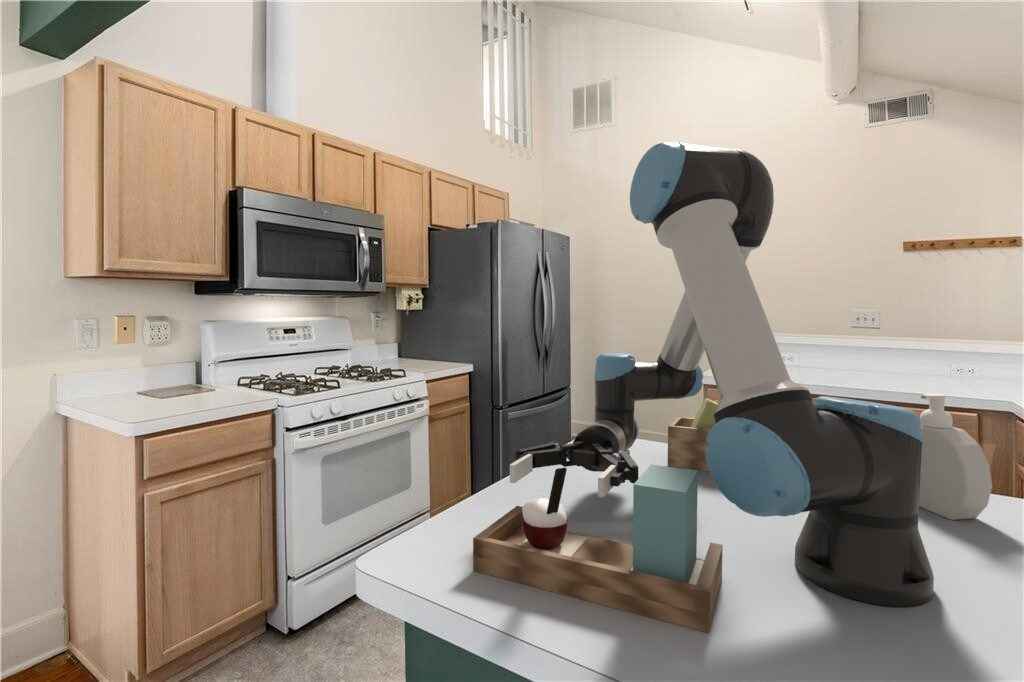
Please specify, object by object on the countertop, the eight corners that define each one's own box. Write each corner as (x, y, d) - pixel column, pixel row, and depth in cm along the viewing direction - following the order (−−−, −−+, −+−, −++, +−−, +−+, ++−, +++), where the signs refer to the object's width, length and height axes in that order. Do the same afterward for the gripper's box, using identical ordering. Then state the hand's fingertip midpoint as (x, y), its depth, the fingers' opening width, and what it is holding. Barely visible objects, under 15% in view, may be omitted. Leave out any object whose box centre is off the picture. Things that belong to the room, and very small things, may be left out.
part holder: (801, 468, 115) (802, 427, 115) (802, 483, 105) (803, 439, 105) (677, 453, 128) (677, 416, 127) (667, 466, 118) (668, 426, 117)
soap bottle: (879, 492, 100) (883, 388, 99) (904, 490, 101) (908, 387, 100) (963, 526, 85) (969, 403, 83) (991, 524, 85) (997, 402, 84)
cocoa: (522, 534, 78) (519, 453, 78) (565, 532, 78) (561, 451, 78) (525, 562, 69) (521, 470, 68) (573, 559, 69) (569, 468, 68)
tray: (721, 578, 69) (722, 544, 68) (708, 632, 57) (709, 592, 57) (517, 534, 83) (516, 505, 82) (473, 570, 71) (473, 538, 71)
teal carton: (696, 561, 69) (697, 470, 68) (684, 594, 61) (685, 492, 60) (648, 551, 72) (649, 464, 71) (631, 581, 64) (632, 484, 63)
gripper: (670, 475, 89) (641, 521, 70) (535, 457, 100) (479, 492, 81) (671, 431, 88) (642, 466, 69) (535, 418, 100) (478, 444, 81)
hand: (554, 480), depth 75 cm, fingers open, 13 cm apart
